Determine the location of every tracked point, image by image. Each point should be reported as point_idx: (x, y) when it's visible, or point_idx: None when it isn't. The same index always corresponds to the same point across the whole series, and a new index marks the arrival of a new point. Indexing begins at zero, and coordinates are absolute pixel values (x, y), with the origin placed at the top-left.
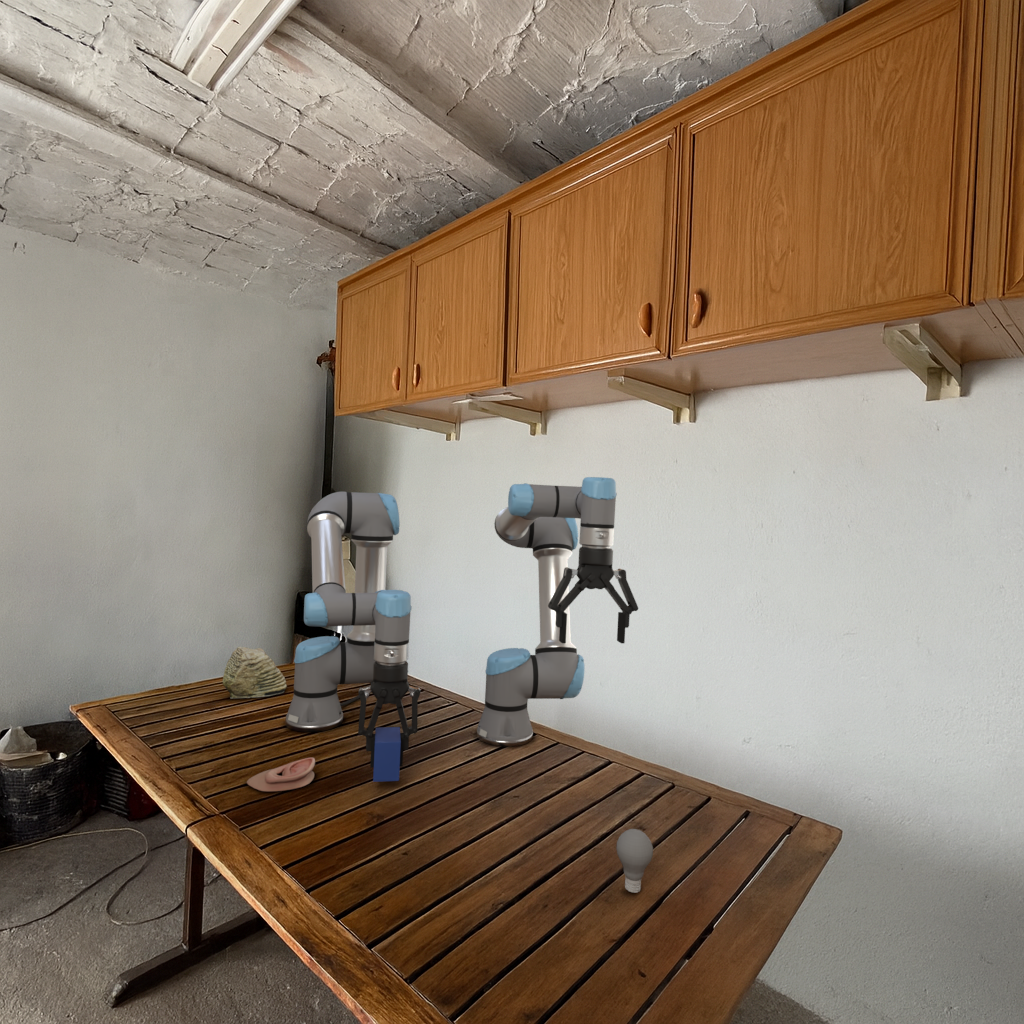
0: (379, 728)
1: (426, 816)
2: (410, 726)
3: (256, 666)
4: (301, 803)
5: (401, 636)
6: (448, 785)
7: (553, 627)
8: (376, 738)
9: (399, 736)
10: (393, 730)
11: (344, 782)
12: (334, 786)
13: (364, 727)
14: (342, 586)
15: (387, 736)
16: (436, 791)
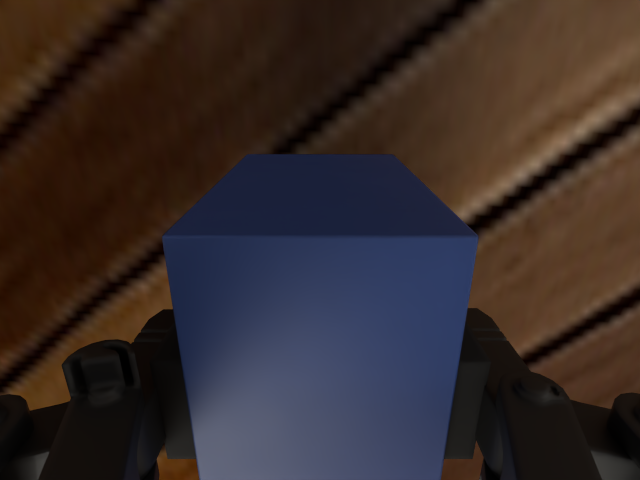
0: (216, 272)
1: (453, 470)
2: (609, 451)
3: None
4: (3, 356)
5: None
6: (601, 270)
7: None
8: None
9: (433, 469)
10: (386, 335)
11: (124, 194)
12: (88, 230)
13: (18, 460)
14: None
15: (316, 461)
16: (532, 316)
